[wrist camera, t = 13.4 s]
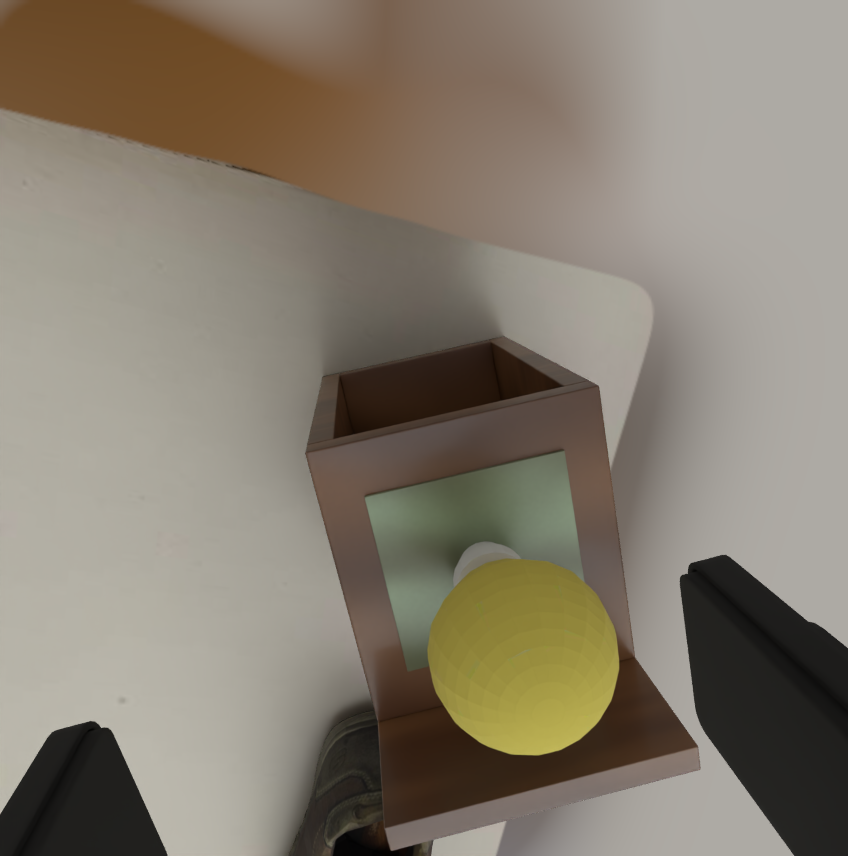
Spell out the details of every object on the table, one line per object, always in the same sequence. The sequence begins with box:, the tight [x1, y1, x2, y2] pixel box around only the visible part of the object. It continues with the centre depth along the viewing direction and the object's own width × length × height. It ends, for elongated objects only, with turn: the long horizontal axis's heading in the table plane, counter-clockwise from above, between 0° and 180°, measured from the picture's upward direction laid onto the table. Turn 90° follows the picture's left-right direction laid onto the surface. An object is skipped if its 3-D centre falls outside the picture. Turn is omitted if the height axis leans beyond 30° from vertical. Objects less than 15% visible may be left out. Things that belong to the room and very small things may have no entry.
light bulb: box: [427, 541, 619, 755], centre depth 25 cm, size 7×7×10 cm
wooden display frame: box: [305, 336, 700, 851], centre depth 36 cm, size 15×13×24 cm
